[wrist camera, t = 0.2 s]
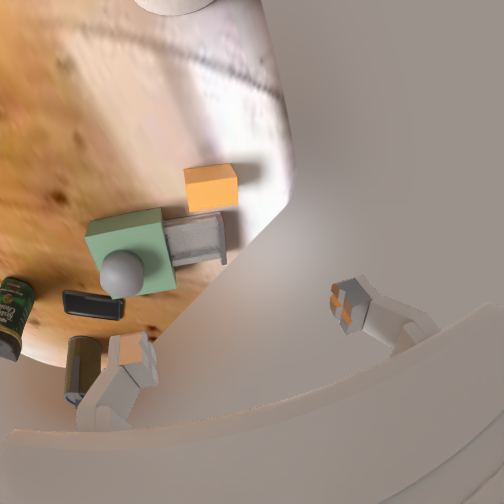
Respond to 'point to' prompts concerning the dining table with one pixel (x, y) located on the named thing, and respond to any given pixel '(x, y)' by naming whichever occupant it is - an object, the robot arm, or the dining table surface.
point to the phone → (92, 305)
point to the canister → (81, 368)
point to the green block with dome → (132, 253)
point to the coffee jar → (13, 316)
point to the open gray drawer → (196, 238)
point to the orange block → (211, 187)
